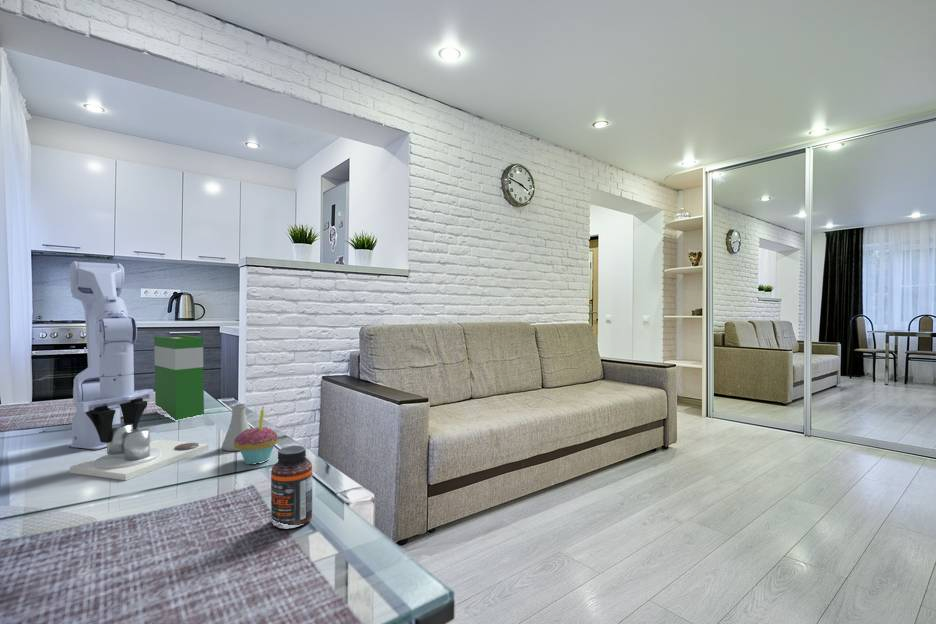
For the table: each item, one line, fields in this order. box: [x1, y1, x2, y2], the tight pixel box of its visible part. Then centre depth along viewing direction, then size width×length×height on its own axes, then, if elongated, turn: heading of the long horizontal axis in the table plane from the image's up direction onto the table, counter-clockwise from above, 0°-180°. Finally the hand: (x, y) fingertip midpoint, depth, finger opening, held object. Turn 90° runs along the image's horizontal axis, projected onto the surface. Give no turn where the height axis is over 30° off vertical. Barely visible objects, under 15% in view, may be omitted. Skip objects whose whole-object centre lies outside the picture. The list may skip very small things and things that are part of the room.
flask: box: [220, 403, 251, 452], centre depth 106 cm, size 7×7×10 cm
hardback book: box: [153, 334, 205, 420], centre depth 138 cm, size 18×7×24 cm, turn 51°
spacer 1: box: [106, 422, 133, 455], centre depth 95 cm, size 4×4×6 cm
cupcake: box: [234, 406, 279, 465], centre depth 96 cm, size 9×8×12 cm
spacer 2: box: [124, 427, 151, 461], centre depth 94 cm, size 4×4×6 cm
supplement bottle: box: [270, 445, 313, 525], centre depth 69 cm, size 6×6×11 cm
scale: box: [69, 438, 209, 481], centre depth 97 cm, size 15×19×2 cm
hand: (118, 438), depth 95 cm, fingers closed on spacer 1, 4 cm apart
